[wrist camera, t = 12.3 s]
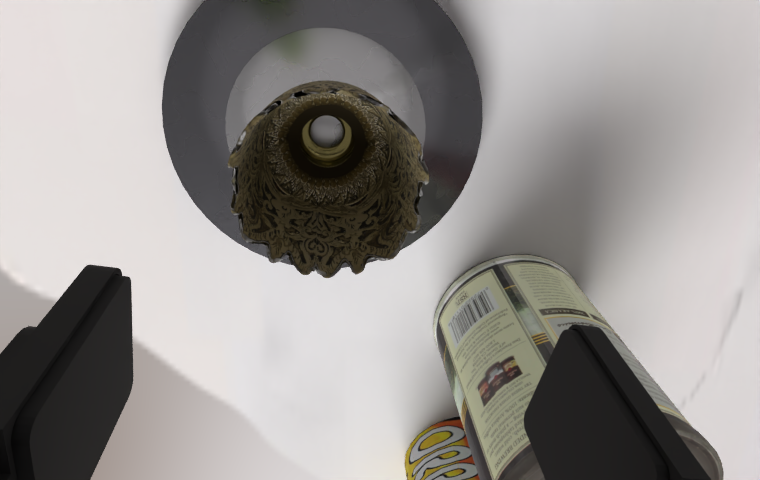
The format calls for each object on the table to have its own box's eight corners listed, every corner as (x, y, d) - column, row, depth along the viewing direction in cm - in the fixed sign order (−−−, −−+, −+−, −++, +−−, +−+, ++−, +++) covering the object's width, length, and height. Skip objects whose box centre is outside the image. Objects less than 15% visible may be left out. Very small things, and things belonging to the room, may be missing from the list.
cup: (255, 40, 24) (229, 74, 17) (412, 65, 25) (449, 107, 18) (247, 191, 27) (223, 271, 20) (386, 206, 28) (408, 287, 21)
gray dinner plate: (173, -85, 23) (162, -88, 21) (513, -6, 25) (525, -4, 24) (167, 236, 30) (159, 251, 28) (434, 270, 32) (439, 285, 31)
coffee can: (546, 384, 38) (654, 585, 26) (414, 366, 36) (462, 576, 24) (608, 266, 34) (773, 442, 21) (460, 239, 32) (549, 415, 19)
